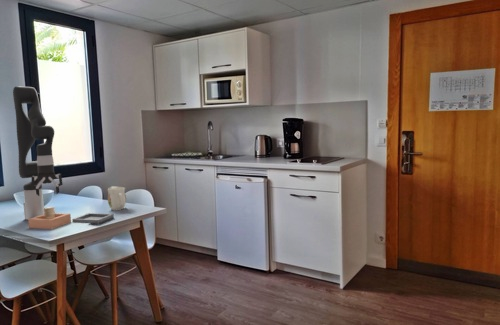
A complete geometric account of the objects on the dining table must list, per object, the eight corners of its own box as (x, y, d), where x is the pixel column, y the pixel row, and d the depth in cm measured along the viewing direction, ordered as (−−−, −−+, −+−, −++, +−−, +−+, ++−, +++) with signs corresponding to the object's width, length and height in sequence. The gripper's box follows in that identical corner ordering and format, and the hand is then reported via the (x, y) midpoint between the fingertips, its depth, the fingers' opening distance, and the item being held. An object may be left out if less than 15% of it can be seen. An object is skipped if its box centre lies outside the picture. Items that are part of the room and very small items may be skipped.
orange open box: (29, 229, 194) (28, 219, 193) (49, 222, 208) (48, 212, 207) (51, 230, 191) (51, 220, 190) (71, 223, 204) (70, 213, 204)
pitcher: (113, 213, 226) (111, 190, 225) (105, 208, 241) (103, 187, 239) (131, 210, 232) (130, 188, 231) (122, 205, 247) (121, 185, 246)
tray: (72, 223, 204) (72, 219, 204) (89, 217, 217) (89, 213, 217) (98, 224, 200) (98, 220, 200) (113, 218, 214) (113, 213, 213)
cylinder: (42, 225, 197) (41, 208, 196) (50, 223, 202) (48, 206, 201) (50, 226, 196) (49, 209, 195) (57, 223, 201) (56, 207, 200)
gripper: (29, 165, 189) (32, 197, 190) (61, 163, 196) (63, 194, 198) (29, 164, 195) (32, 195, 197) (60, 162, 203) (62, 192, 204)
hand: (48, 194), depth 197 cm, fingers open, 8 cm apart
